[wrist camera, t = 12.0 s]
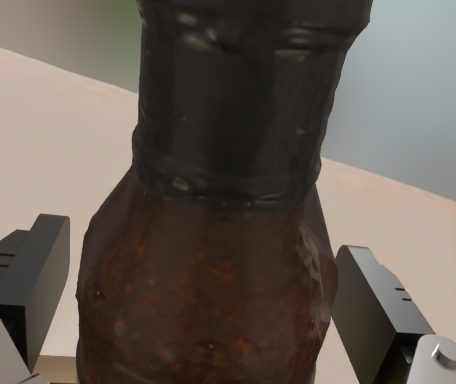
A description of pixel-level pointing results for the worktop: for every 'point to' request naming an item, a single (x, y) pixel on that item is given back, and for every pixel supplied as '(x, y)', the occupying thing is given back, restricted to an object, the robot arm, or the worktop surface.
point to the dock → (56, 369)
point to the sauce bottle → (219, 200)
